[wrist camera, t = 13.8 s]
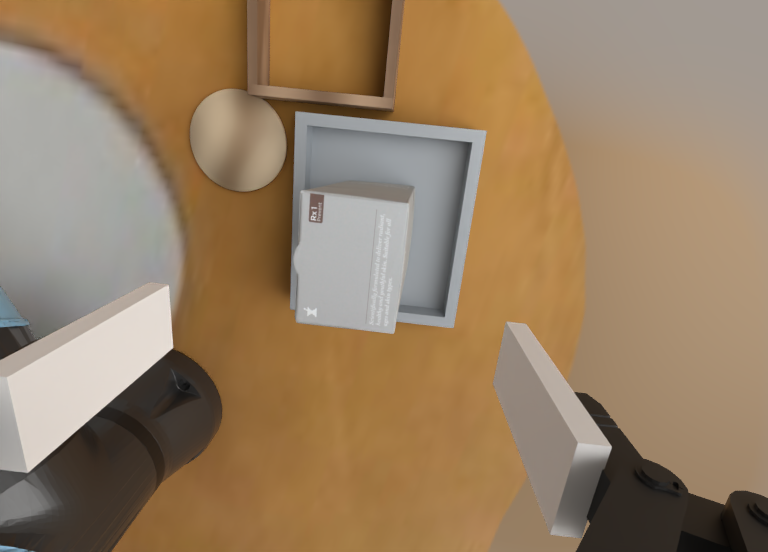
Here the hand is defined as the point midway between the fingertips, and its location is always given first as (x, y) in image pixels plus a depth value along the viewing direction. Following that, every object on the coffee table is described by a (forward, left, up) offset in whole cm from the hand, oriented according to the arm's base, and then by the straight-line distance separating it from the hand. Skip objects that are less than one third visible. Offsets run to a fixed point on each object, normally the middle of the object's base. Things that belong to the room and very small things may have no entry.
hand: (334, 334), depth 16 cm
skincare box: (0, 0, -24) cm, 24 cm away
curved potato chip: (-14, +6, -25) cm, 29 cm away
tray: (0, 0, -25) cm, 25 cm away
